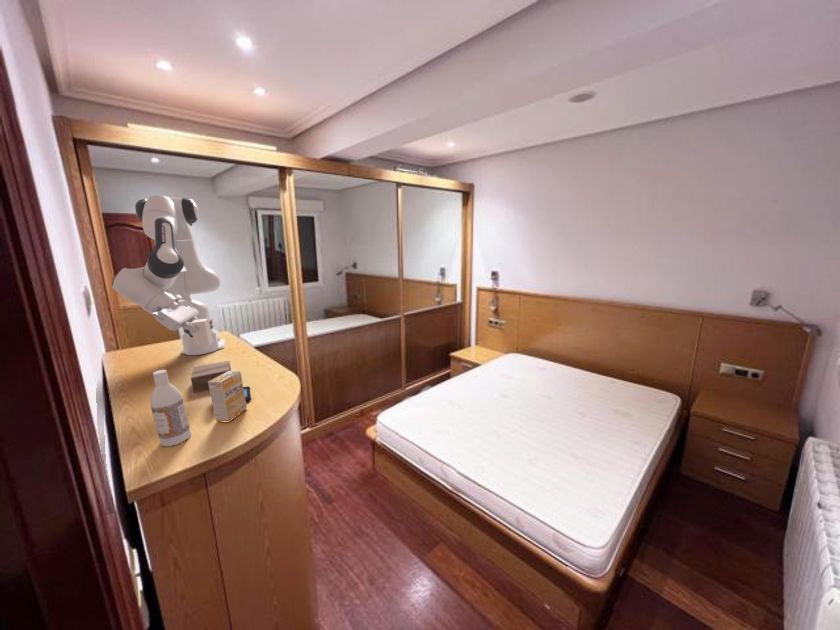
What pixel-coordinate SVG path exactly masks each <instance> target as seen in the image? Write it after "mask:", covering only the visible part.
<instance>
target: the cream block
mask: <svg viewBox="0 0 840 630" xmlns="http://www.w3.org/2000/svg"><path fill="white" fill-rule="evenodd" d="M190 324H191V325H193V326H196V327H198V328H199V330H198V331H197V332H196V333H193V332H192V333H193V338H194V342H195V347H199V346H208V345H210V344H211V343H212V342H213V339H212V334H211V329H210V324H209V319H198V320H194V321H192V322H191V323H190Z"/></svg>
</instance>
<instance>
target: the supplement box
mask: <svg viewBox="0 0 840 630" xmlns="http://www.w3.org/2000/svg"><path fill="white" fill-rule="evenodd" d="M208 385H209V390H208V391H209V394H210V398H211V404H212V408H213V412H214V417H215V418H214V419H215V422H216V421H230V420H231V419H232V418H234V417H235V416H237V415H238V414H239V413H241V412H242V411H244V410H245V409H246V408H247V409H248V407H247V403H246V400H245V394H244V389H243V387H244V386H243V385H244V384H243V378H242V371H241V370H231V371H227V372H225V373H224V374H222V375H220V376H218V377H216V378H214V379H212V380H210V381H208ZM245 411H246V410H245ZM245 411H244V412H245ZM242 413H243V412H242ZM242 413H241V414H242ZM239 415H240V414H239ZM239 415H238V416H239ZM238 416H237V417H238ZM235 418H236V417H235ZM235 418H234V419H235ZM230 422H231V421H230Z"/></svg>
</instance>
